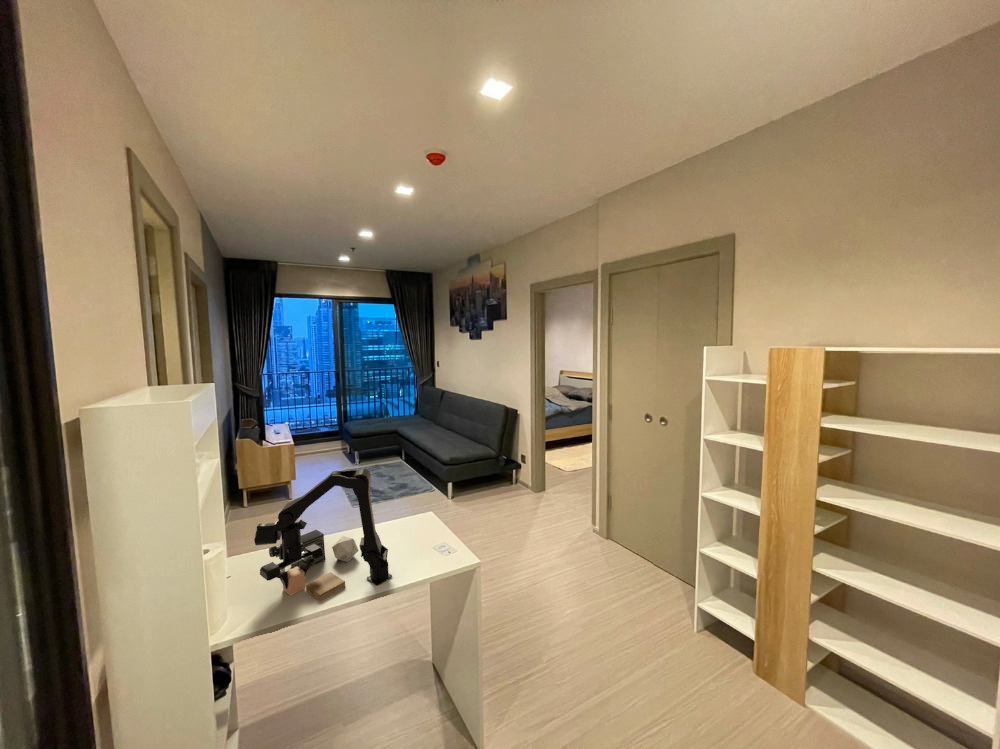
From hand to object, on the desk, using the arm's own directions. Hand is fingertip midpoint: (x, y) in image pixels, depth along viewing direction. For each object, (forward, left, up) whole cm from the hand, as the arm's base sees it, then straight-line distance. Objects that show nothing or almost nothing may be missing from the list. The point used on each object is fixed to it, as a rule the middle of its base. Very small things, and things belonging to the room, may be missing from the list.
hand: (294, 584), depth 137 cm
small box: (+11, -11, -2) cm, 16 cm away
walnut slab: (-9, -7, -2) cm, 11 cm away
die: (+2, -21, -2) cm, 21 cm away
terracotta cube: (0, 0, -2) cm, 2 cm away
